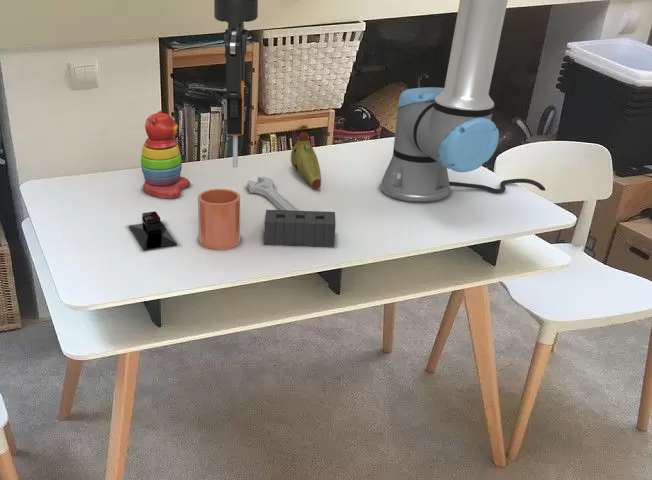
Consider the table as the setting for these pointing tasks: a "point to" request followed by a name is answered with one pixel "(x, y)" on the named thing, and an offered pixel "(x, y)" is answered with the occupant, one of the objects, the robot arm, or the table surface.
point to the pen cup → (219, 218)
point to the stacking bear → (162, 158)
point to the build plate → (152, 233)
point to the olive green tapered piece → (306, 161)
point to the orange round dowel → (235, 137)
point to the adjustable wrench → (270, 193)
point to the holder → (299, 228)
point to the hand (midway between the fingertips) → (235, 130)
